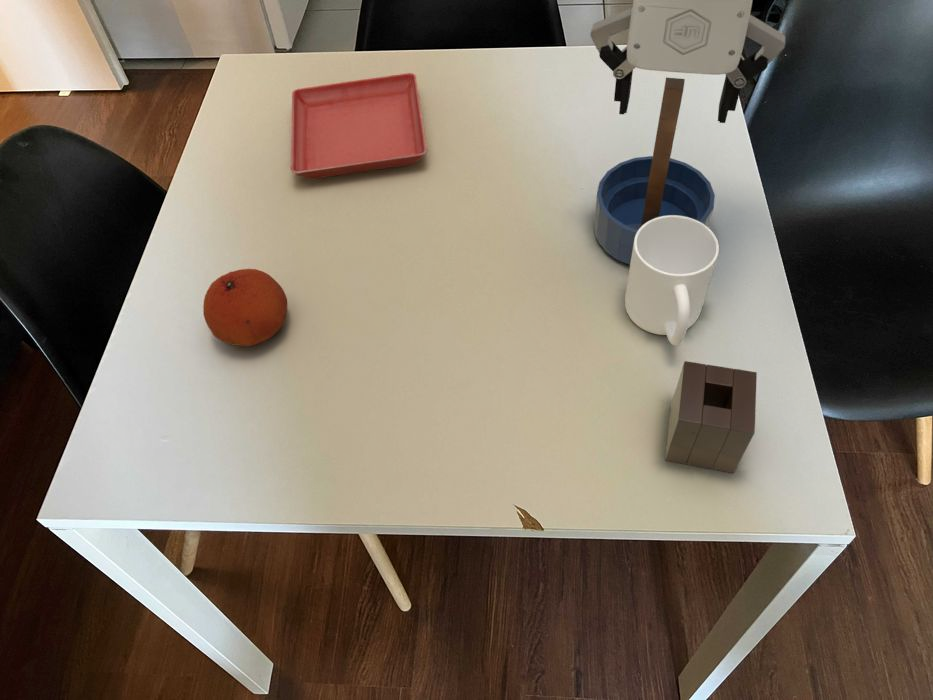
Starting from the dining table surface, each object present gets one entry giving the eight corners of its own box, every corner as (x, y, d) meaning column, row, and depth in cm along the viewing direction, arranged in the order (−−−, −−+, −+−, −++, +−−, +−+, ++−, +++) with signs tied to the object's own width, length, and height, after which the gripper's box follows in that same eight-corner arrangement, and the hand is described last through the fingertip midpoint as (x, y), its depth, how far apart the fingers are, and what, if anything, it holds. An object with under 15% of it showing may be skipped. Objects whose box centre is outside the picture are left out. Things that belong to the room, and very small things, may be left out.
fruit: (218, 366, 80) (190, 323, 74) (218, 306, 85) (192, 260, 79) (296, 350, 81) (275, 306, 74) (292, 291, 86) (272, 245, 79)
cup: (692, 277, 82) (710, 212, 74) (713, 364, 75) (735, 303, 67) (619, 280, 83) (629, 217, 74) (633, 367, 76) (645, 308, 68)
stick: (656, 224, 87) (685, 78, 70) (655, 235, 86) (683, 89, 69) (641, 223, 87) (666, 77, 71) (639, 233, 86) (664, 88, 70)
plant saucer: (430, 172, 96) (427, 152, 93) (296, 191, 96) (289, 172, 93) (418, 91, 106) (415, 71, 104) (297, 108, 106) (291, 89, 104)
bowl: (707, 200, 89) (717, 162, 84) (700, 279, 82) (710, 242, 77) (602, 188, 92) (606, 151, 87) (586, 263, 85) (589, 227, 80)
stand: (736, 415, 72) (756, 372, 65) (733, 473, 68) (754, 433, 62) (670, 404, 73) (684, 360, 66) (664, 460, 70) (678, 419, 63)
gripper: (590, -49, 58) (580, 126, 72) (817, -40, 55) (761, 142, 69) (603, -92, 62) (592, 81, 76) (816, -87, 59) (763, 94, 73)
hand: (672, 110), depth 73 cm, fingers open, 9 cm apart
